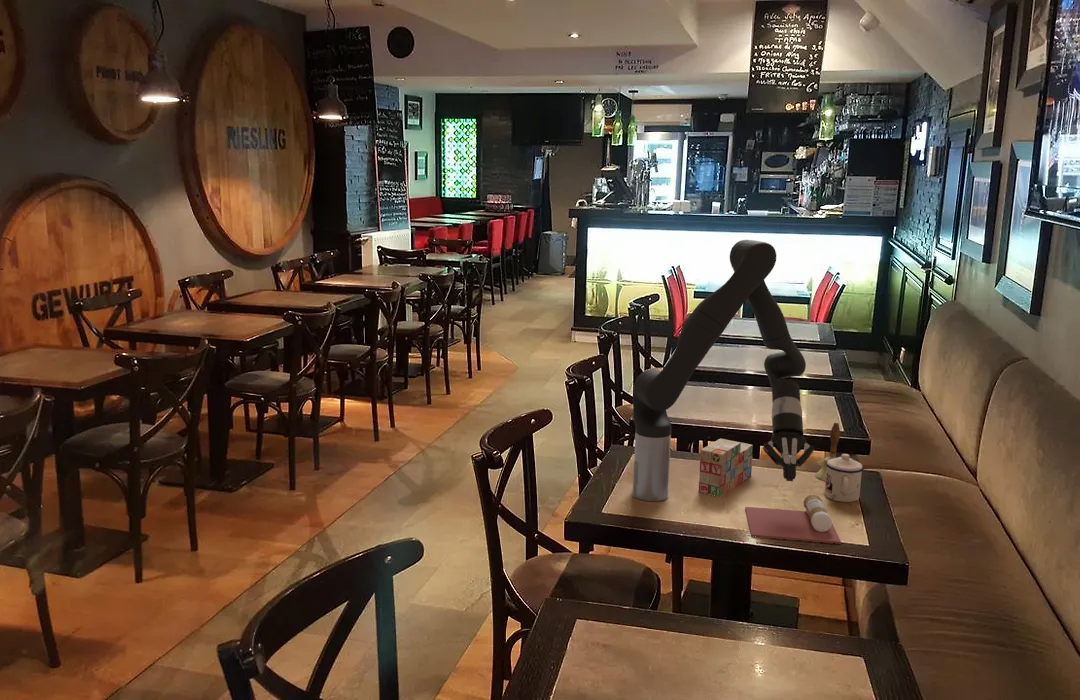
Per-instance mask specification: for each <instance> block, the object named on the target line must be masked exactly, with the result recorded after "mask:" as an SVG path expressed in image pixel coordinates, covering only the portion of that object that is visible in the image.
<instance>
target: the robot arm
mask: <svg viewBox="0 0 1080 700" xmlns="http://www.w3.org/2000/svg"><path fill="white" fill-rule="evenodd" d="M729 262H730V266H731V268H732V271H733V273H732V275H731V276H730V278H729V279H728V280H727V281H726V282H725V283H724V284H723V285H722V286H720V287H719V288H717V290H715V291H713V292H712V293H711V294H709V295H708V296H706V297H705V298H704V299H702V301H700V302H699V303H698V304H697V306H696V307H695V308H694V309H693V311H692V312H691V314H690V315H689V316H688V317H687V319H686V321H684V323H683V325H682V328H681V330H680V333H679V337H678V339H677V342H676V348H675V349H674V352H673V354H672V355H671V358H670V359H669V361H668V362H667V363H666V364H665V366H663V368H662V370H661V371H658V370H655V369H648V370H644V371H643V372H641V373H640V374H639V375H638V377H636V379H635V382H634V384H633V385H634V386H633V391H632V393H633V395H632V399H633V400H632V405H633V406H632V411H633V412H632V417H633V421H634V426H635V432H634V433H635V435H634V457H633V459H634V460H633V468H632V469H633V470H632V473H633V474H632V496H631V497H632V498H633V499H639V500H642V501H644V502H645V501H646V502H660V501H664V500H666V499H667V498H668V497H669V489H670V488H669V482H670V463H671V442H672V441H671V440H672V423H671V421H670V419H669V417H668V413H667V410H669V409H670V408H672V406H673V405H674V404H676V401H678V399H679V397H680V396H681V394H682V392H683V391H684V389H685V387H686V385H687V383H689V380H690V378H691V377H692V375H693V373H694V372H695V371H696V369H697V368H698V366H699V365H700V363H701V362H702V361H703V359H704V358H705V356H706V355H707V354H708V352H709V351H710V349H711V348H712V347H713V346H714V344H715V343H716V342H717V341H718V340H719V339H720V337H721V336H722V335H723V333H724V332H725V330H726V329H727V327H728V325H729V324H730V322H731V321H732V320H733V318H734V317H735V316H736V314H737V313H738V312H739V310H741V308H742V306H743V305H744V304H745V302H746V301H747V300H748V302H749V304H750V307H751V310H752V312H753V315H754V317H755V320H756V322H757V327H758V329H759V333H760V336H761V339H762V342H763V345H764V347H765V348H766V349H769V350H779V351H782V352H776V353H771V354H769V355H767V356H766V358H765V359H764V362H763V365H764V367H763V368H764V371H765V373H766V375H767V378H768V380H769V384H770V388H771V399H772V406H771V423H772V426H771V428H772V436H771V438H770V441H768V442H764V443H763V445H762V449H763V452H764V453H766V455H767V456H768V457H769V458H770V459H771V461H772V462H773V463H774V464H775V465H776V466H780V467H782V473H783V478H784V479H785V481H786V482H793V481H794V480H795V479H796V476H797V467H802V466H803V464H805V462H806V461H807V460H808V459H809V458H810V457H811V456H812V455H813V454H814V451H815V448H816V447H815V446H814V445H812V444H811V445H810V444H809V443H808V442H807V440H806V438H805V436H804V424H803V422H804V421H803V409H802V404H801V393H800V392H801V390H800V385H799V384H798V382H796V381H794V380H792V379H788V378H794V377H799V376H801V375H803V374H804V373H805V371H806V367H807V364H806V360H805V357H804V355H803V354H802V352H801V351H800V349H799V348H798V347H797V345H796V343H795V342H794V340H793V338H792V336H791V335H790V331H789V329H788V324H787V322H786V318H785V316H784V313H783V311H782V309H781V307H780V305H779V304H778V302H777V301H776V300H775V298H774V296H773V295H772V293H771V291H770V290H769V288H768V286H767V284H766V281H765V279H766V278H767V277H768V276H769V275H770V273H772V271H773V269H774V267H775V265H776V262H777V251H776V248H775V247H774V246H773V245H772V244H770V243H768V242H766V241H761V240H756V239H755V240H753V239H742V240H739V241H737V242H736V243H734V245H733V246H732V247H731V250H730V252H729ZM774 448H775V449H774ZM802 449H803V453H802V455H801V456H799V458H797V455H799V453H800V452H801V451H802ZM778 453H779V454H778Z"/></svg>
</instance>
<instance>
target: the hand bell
mask: <svg viewBox="0 0 1080 700" xmlns="http://www.w3.org/2000/svg"><path fill="white" fill-rule="evenodd" d="M829 433H830V435H829V439H830V451H829V455H828V456H826V457H824V458H823V461H822V462H823V463H822V465H821V468H820V469H819V471H817V472H815V477H816V478H817V479H819V480H821V481H824V482H826V473H827V465H826V463H827V461H828V460H830V459H834V458H838V457H837V448H838V447H837V446H838V443H839V441H840V437H841V429H840V423H838V422H834V423H833V424H832V427H831V429H830V432H829Z"/></svg>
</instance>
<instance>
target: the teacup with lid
mask: <svg viewBox="0 0 1080 700" xmlns="http://www.w3.org/2000/svg"><path fill="white" fill-rule="evenodd" d="M826 465H827V473H826V481H825V484H824V495H825V497H827V498H828V499H830V500H832V501H837V502H841V503H854V502H856V501H858V500H860V492H861V485H862V484H861V482H862V474H863V473H862V472H863V470H864V467H863V465H862V463H860V462H859V461H857V460H854V458H851V457H850V454H848V453H842V454H841V456H839V457H837V458H834V459H830V460H828V461H827V463H826Z"/></svg>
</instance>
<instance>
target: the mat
mask: <svg viewBox="0 0 1080 700" xmlns="http://www.w3.org/2000/svg"><path fill="white" fill-rule="evenodd" d="M744 509H745V514H746V515H745V516H746V519H747V524H748V529H749V533H751V534H750V536H754V537H753V538H759V537H764V538H763V539H771V538H774V539H773V540H783V539H786V540H785V541H796V540H802V541H801V542H808V541H812V542H811V543H820V542H823V543H822V544H833V543H835V544H834V545H841V544H842V541H841V539H840V537H839V534H838V533H837V530H836V528H835V526H834V523H832V526H831V528H830V529H829V530H828V531H825V532H819V531H817V530H815V529H814V528H813V526H812V524H811V519H810V517H809V515H808V513H807V511H805V510H797V509H796V510H795V509H793V510H791V509H782V508H781V509H780V508H765V507H753V506H744ZM755 536H756V537H755ZM775 538H776V539H775Z"/></svg>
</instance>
